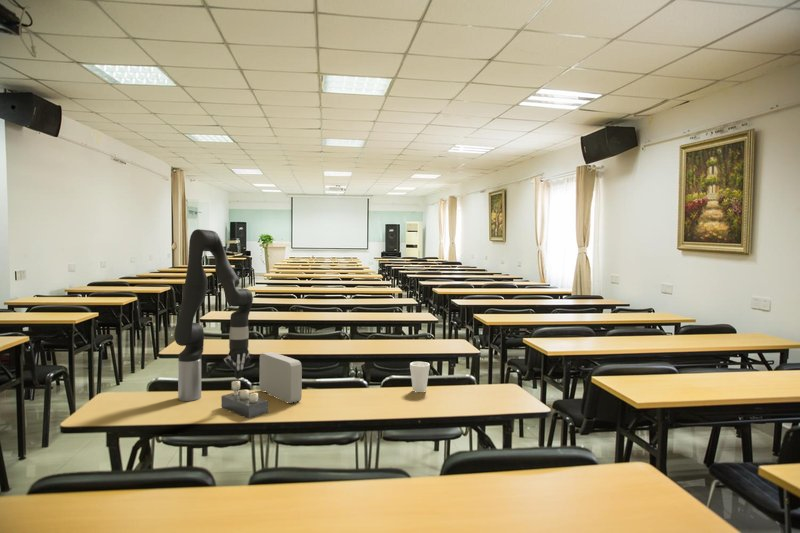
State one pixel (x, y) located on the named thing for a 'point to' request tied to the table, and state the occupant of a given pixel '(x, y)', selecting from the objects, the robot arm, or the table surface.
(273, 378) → the rounded white slab
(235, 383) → the knob
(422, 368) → the foam cup
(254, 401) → the knob
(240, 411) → the mount
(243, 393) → the knob
